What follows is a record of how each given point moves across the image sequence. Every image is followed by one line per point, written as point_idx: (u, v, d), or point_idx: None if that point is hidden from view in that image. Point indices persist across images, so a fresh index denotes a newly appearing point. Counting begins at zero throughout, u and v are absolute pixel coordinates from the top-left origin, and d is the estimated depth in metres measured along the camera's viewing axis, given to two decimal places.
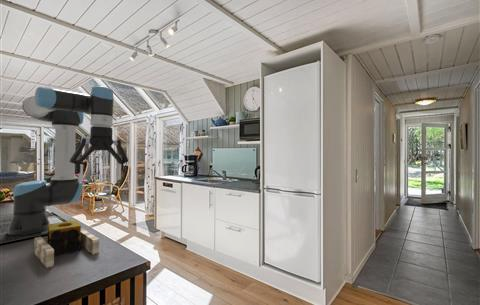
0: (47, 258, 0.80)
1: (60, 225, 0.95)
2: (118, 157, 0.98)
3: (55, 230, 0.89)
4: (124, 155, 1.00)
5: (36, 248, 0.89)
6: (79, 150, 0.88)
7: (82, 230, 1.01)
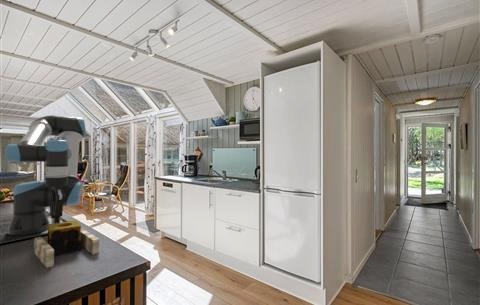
0: (47, 258, 0.80)
1: (60, 225, 0.95)
2: (53, 210, 0.99)
3: (55, 230, 0.89)
4: (55, 210, 0.98)
5: (36, 248, 0.89)
6: (49, 202, 1.03)
7: (82, 230, 1.01)
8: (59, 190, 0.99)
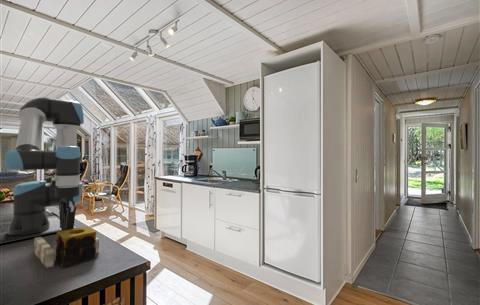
0: (47, 258, 0.80)
1: (71, 232, 0.87)
2: (64, 223, 0.90)
3: (70, 238, 0.81)
4: (66, 223, 0.88)
5: (36, 248, 0.89)
6: (59, 214, 0.93)
7: None
8: (70, 201, 0.89)
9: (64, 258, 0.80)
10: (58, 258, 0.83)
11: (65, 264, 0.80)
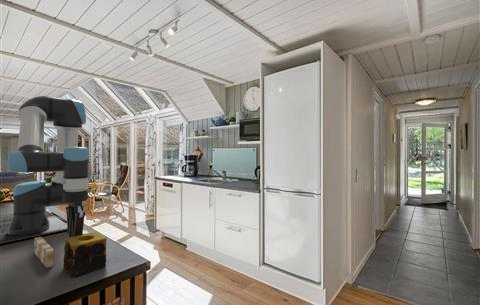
0: (47, 258, 0.80)
1: (79, 238, 0.82)
2: (72, 229, 0.84)
3: (79, 245, 0.76)
4: (74, 230, 0.83)
5: (36, 248, 0.89)
6: (67, 220, 0.88)
7: None
8: (79, 206, 0.84)
9: (73, 267, 0.74)
10: (66, 267, 0.78)
11: (74, 273, 0.74)
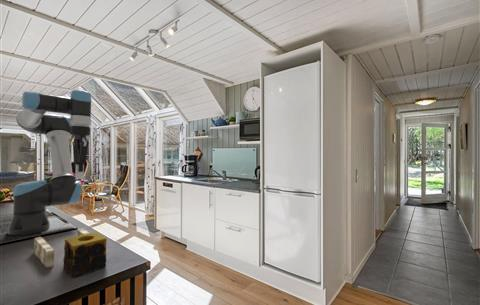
0: (47, 258, 0.80)
1: (79, 239, 0.82)
2: (77, 157, 1.05)
3: (79, 245, 0.76)
4: (79, 156, 1.03)
5: (36, 248, 0.89)
6: (73, 151, 1.08)
7: (82, 230, 1.01)
8: (83, 138, 1.04)
9: (73, 267, 0.74)
10: (66, 267, 0.78)
11: (74, 273, 0.74)
